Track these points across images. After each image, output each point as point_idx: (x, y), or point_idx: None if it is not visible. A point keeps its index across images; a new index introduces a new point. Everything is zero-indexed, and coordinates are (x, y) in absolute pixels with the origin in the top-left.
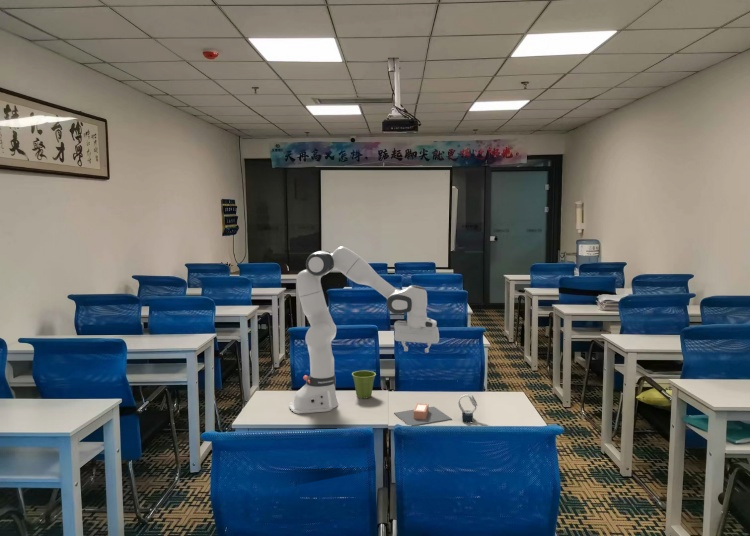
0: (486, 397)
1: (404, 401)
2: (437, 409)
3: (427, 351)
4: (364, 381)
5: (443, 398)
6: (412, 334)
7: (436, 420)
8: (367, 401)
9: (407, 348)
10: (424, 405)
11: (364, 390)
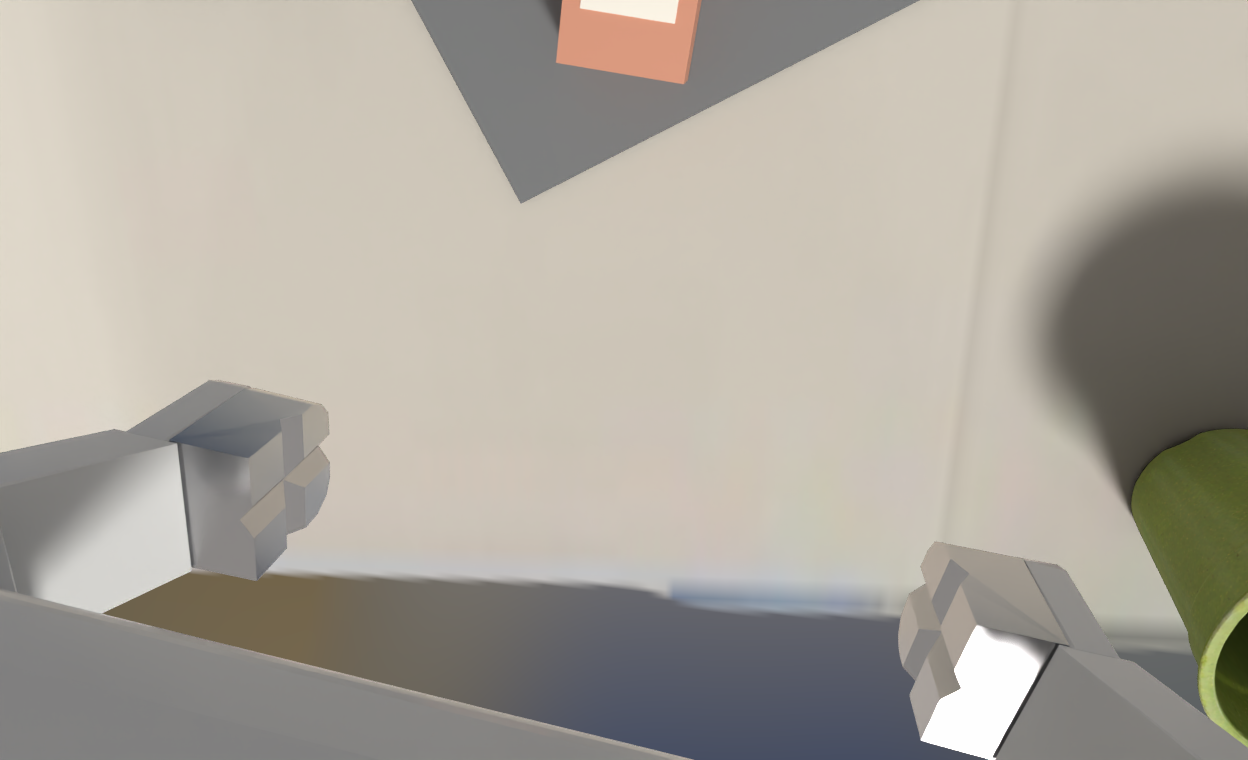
0: None
1: (805, 356)
2: (483, 117)
3: (209, 393)
4: None
5: (448, 431)
6: None
7: None
8: (1201, 352)
9: (947, 624)
10: (600, 2)
11: None
